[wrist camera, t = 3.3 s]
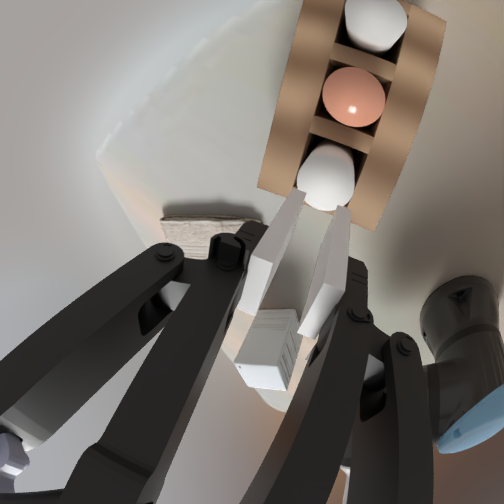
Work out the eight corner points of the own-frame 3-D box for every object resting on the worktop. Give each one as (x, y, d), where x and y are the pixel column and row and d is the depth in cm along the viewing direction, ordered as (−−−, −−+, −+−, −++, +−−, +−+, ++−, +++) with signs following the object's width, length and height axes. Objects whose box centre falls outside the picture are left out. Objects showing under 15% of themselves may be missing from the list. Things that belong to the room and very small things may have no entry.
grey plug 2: (345, 184, 28) (342, 218, 20) (307, 169, 28) (290, 199, 21) (359, 147, 25) (362, 168, 18) (319, 132, 26) (305, 147, 18)
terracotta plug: (366, 124, 23) (374, 136, 16) (325, 109, 24) (315, 114, 17) (378, 86, 21) (392, 81, 14) (336, 71, 21) (331, 58, 14)
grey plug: (385, 64, 19) (400, 50, 12) (342, 49, 20) (339, 27, 13) (394, 29, 16) (411, 3, 9) (351, 14, 17) (350, -18, 10)
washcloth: (272, 279, 45) (266, 291, 43) (182, 270, 52) (173, 279, 49) (263, 212, 39) (256, 222, 37) (164, 213, 46) (154, 221, 43)
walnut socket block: (369, 195, 32) (373, 231, 24) (281, 162, 34) (256, 187, 26) (420, 40, 19) (446, 21, 11) (323, 6, 21) (310, -26, 13)
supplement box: (268, 335, 53) (246, 387, 43) (257, 308, 49) (231, 362, 39) (304, 336, 49) (287, 392, 40) (297, 308, 46) (277, 366, 36)
